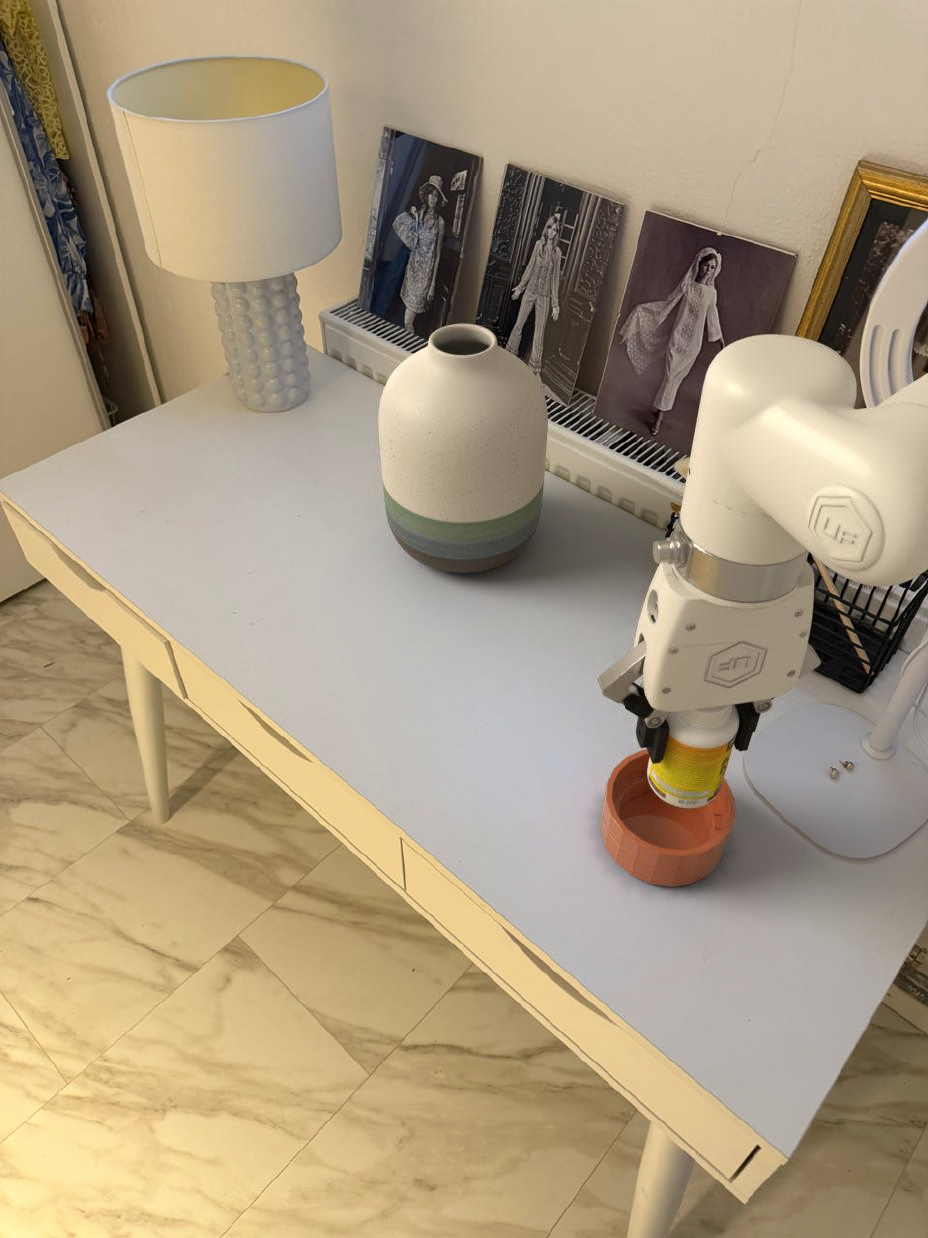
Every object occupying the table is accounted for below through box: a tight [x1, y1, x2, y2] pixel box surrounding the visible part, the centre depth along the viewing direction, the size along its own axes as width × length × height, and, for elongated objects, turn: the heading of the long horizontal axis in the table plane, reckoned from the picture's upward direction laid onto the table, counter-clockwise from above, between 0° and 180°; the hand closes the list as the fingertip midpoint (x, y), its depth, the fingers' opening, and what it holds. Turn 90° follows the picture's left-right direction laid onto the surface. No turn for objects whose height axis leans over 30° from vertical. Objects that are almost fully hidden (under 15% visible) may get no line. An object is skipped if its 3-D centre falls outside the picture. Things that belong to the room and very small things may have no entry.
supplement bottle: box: [647, 704, 739, 808], centre depth 67 cm, size 6×6×10 cm
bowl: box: [599, 748, 737, 888], centre depth 75 cm, size 10×10×5 cm
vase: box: [377, 323, 549, 574], centre depth 95 cm, size 17×17×24 cm
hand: (693, 740), depth 67 cm, fingers closed on supplement bottle, 5 cm apart
